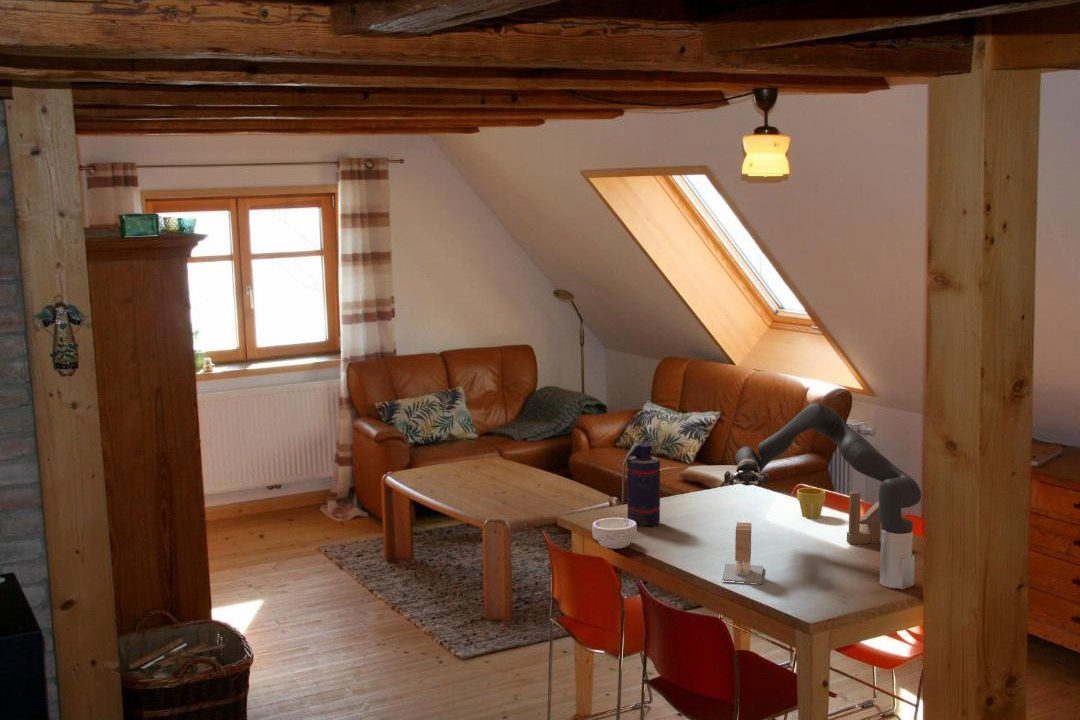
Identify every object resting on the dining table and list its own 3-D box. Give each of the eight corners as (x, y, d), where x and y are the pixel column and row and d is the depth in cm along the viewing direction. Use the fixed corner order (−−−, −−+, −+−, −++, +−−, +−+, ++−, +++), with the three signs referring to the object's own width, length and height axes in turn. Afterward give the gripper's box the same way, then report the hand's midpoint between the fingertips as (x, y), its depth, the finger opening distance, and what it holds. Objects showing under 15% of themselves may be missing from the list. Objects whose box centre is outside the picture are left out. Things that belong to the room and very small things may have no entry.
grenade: (658, 519, 430) (658, 439, 426) (661, 528, 419) (661, 446, 415) (621, 519, 431) (621, 440, 427) (622, 528, 419) (622, 446, 415)
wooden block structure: (880, 543, 397) (882, 492, 395) (850, 545, 396) (851, 493, 394) (876, 540, 401) (878, 490, 398) (846, 541, 400) (847, 491, 397)
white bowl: (585, 541, 403) (585, 519, 402) (625, 536, 408) (625, 515, 407) (603, 554, 389) (603, 531, 388) (644, 548, 394) (644, 526, 393)
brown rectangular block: (736, 552, 369) (737, 522, 367) (750, 553, 368) (751, 523, 366) (735, 560, 361) (735, 529, 360) (749, 561, 360) (750, 530, 359)
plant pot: (791, 516, 433) (791, 490, 431) (807, 511, 440) (807, 485, 438) (814, 521, 425) (815, 495, 424) (830, 516, 432) (831, 490, 431)
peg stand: (725, 566, 374) (725, 548, 374) (763, 568, 372) (763, 550, 371) (722, 582, 359) (722, 563, 358) (761, 584, 356) (761, 566, 355)
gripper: (726, 459, 388) (723, 470, 372) (769, 461, 385) (768, 472, 369) (726, 481, 389) (723, 493, 373) (769, 483, 386) (768, 495, 370)
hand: (745, 482), depth 371 cm, fingers open, 8 cm apart
